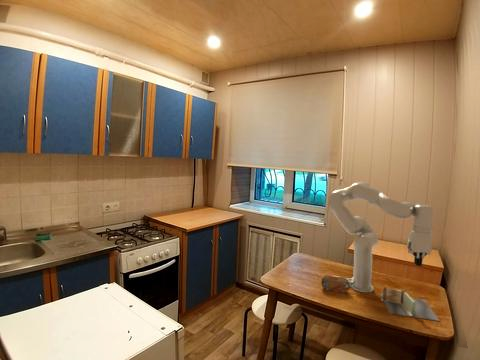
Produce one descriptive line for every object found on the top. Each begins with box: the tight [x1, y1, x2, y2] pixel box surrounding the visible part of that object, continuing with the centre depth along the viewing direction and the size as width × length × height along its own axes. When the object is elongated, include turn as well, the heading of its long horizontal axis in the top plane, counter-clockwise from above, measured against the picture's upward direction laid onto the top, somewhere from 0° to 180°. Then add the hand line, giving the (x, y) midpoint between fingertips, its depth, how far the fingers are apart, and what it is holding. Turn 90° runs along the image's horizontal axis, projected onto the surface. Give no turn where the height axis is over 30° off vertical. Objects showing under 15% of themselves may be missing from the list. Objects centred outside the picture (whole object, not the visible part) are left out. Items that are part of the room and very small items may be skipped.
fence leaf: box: [403, 291, 416, 315], centre depth 132 cm, size 10×1×6 cm, turn 172°
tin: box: [320, 274, 351, 294], centre depth 151 cm, size 15×3×8 cm, turn 69°
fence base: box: [380, 287, 440, 322], centre depth 136 cm, size 22×19×7 cm
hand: (417, 264), depth 135 cm, fingers closed
